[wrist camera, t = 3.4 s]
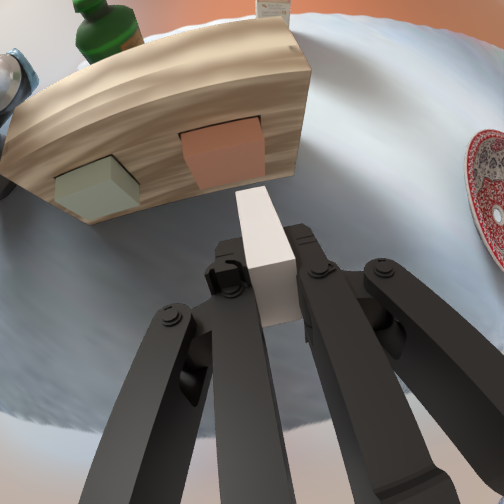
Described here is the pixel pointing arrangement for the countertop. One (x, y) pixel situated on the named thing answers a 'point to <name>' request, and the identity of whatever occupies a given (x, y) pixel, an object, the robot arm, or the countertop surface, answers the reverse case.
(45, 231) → the countertop surface
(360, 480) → the robot arm
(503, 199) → the ceramic bowl
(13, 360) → the countertop surface
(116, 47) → the bottle
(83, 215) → the sage button
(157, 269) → the countertop surface
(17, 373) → the countertop surface
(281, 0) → the cracker box
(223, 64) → the block
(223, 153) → the terracotta button
